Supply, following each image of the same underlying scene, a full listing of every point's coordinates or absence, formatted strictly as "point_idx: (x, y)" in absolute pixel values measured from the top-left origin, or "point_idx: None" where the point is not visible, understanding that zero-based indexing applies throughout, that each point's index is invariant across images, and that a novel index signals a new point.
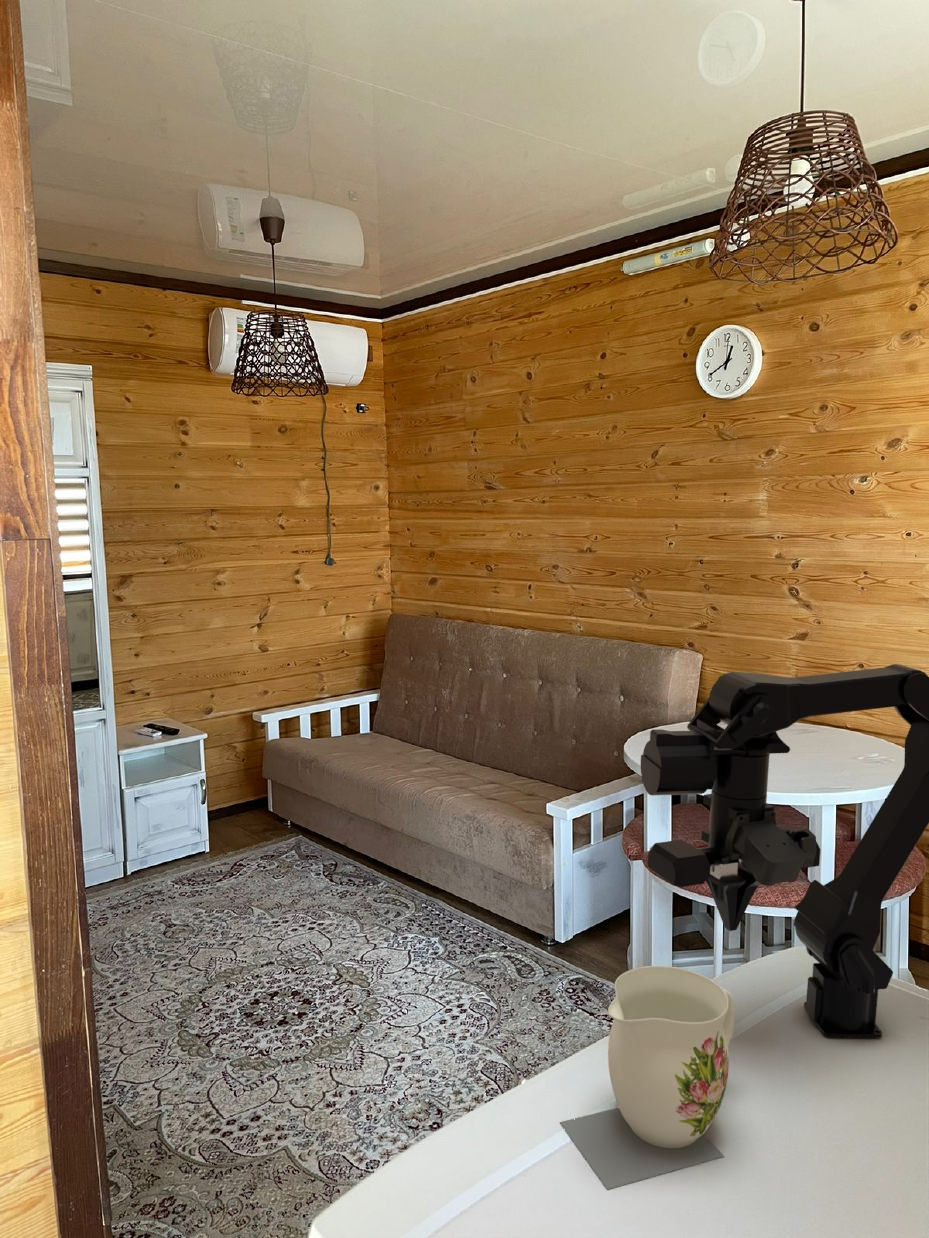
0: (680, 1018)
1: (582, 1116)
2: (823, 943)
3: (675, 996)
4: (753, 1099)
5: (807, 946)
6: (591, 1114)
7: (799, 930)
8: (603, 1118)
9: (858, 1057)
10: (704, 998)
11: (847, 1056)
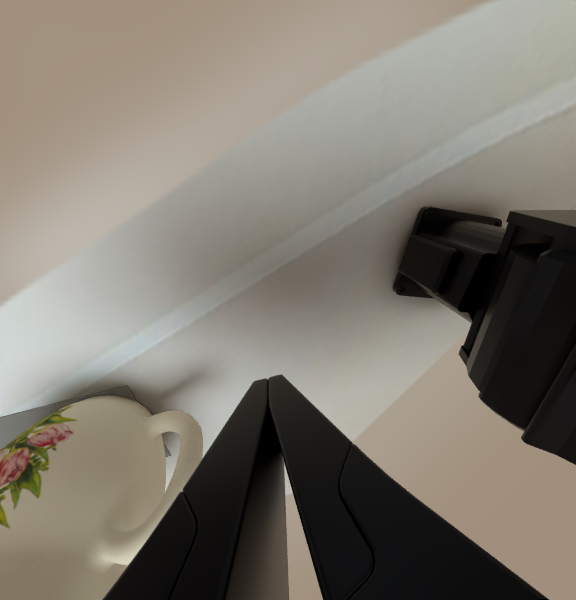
0: (88, 485)
1: (2, 417)
2: (499, 405)
3: (42, 550)
4: (233, 390)
5: (495, 294)
6: (15, 414)
7: (525, 289)
8: (32, 419)
9: (401, 328)
10: (96, 589)
11: (390, 326)
